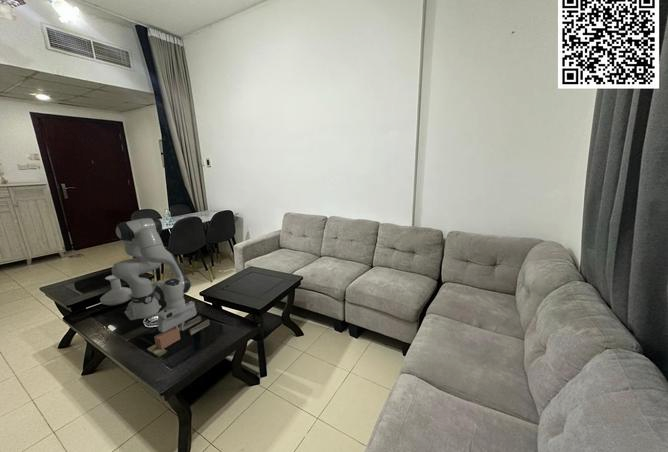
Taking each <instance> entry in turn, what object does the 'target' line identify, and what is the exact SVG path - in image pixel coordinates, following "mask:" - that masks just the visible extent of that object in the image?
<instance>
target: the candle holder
mask: <svg viewBox="0 0 668 452" xmlns="http://www.w3.org/2000/svg"><path fill="white" fill-rule="evenodd" d="M104 279H105V280H107V281H109V283H110V287H111V289H110V290H108V292H106V293H104V294H103V295H101V297H100V298H99V300H100V303H101V304H102V305H107V306H116V305H121V304H124V303H126V302H129V301H131V300H132V299H131V298H132V297H131V296H132V292H131V289H130V287H125V286H122V283H121V279H119V278H116V277H115V276H114V275H113V274H112V275H108V276H106V277H105V278H104Z"/></svg>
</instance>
